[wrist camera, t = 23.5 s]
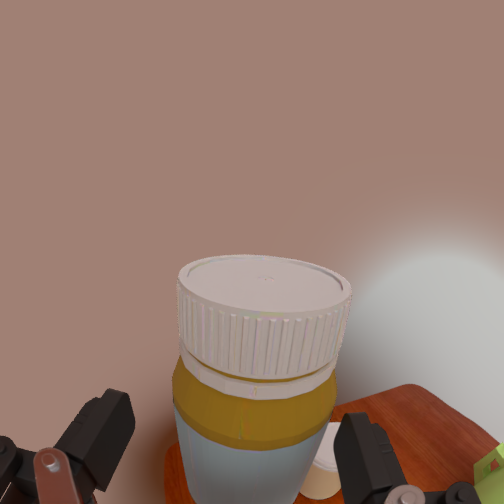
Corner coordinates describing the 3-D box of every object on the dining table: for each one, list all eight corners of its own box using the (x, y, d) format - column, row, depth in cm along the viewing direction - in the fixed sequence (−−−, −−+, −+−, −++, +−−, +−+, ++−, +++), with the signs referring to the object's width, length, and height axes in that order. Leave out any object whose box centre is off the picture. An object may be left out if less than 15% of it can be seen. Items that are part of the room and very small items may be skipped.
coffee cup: (347, 502, 28) (375, 465, 25) (289, 503, 29) (305, 468, 26) (342, 461, 37) (364, 420, 34) (291, 461, 38) (304, 419, 35)
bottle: (314, 480, 14) (384, 278, 10) (250, 546, 8) (303, 354, 5) (237, 437, 18) (251, 246, 15) (167, 484, 13) (128, 268, 9)
